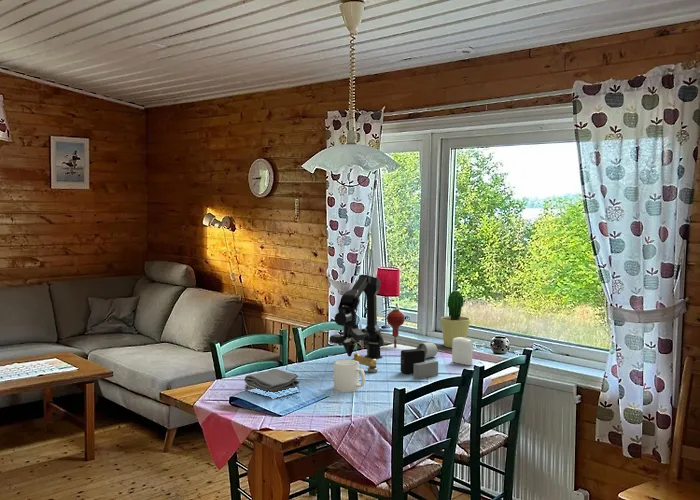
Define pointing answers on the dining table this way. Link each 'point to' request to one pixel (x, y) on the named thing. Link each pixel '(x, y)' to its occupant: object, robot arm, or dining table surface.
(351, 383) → the mug
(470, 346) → the white rounded block
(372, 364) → the gold bone
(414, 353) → the electronic device
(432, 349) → the ceramic mug
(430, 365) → the socket block
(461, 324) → the potted cactus
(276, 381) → the towel
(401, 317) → the lantern
